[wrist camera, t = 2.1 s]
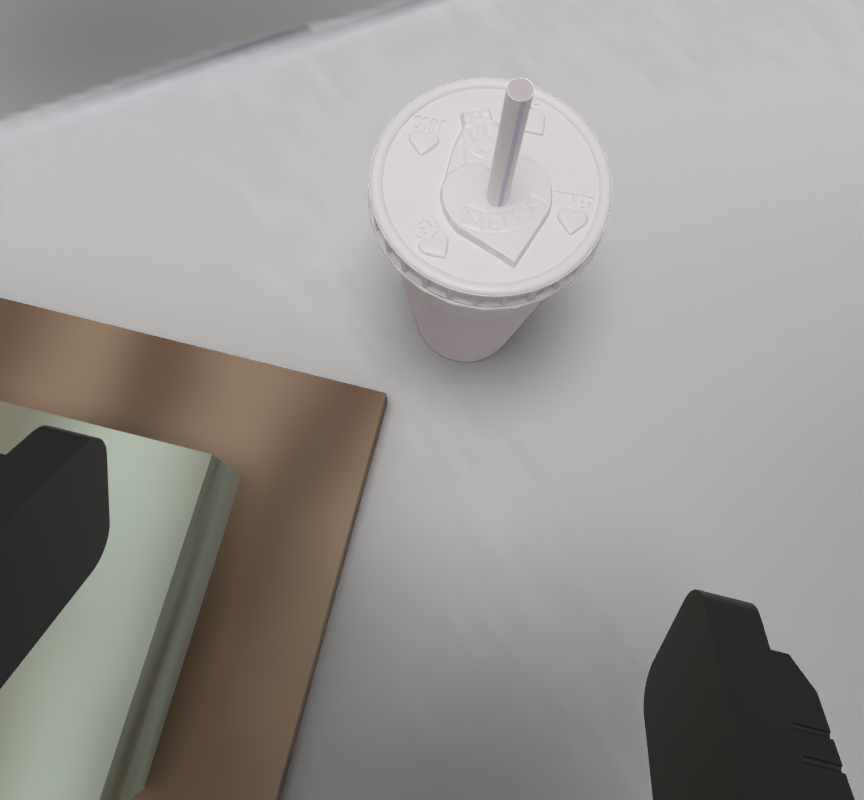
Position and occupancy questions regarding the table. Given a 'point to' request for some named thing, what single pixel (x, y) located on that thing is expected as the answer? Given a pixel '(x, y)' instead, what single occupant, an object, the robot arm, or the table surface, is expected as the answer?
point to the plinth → (264, 533)
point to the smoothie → (486, 207)
